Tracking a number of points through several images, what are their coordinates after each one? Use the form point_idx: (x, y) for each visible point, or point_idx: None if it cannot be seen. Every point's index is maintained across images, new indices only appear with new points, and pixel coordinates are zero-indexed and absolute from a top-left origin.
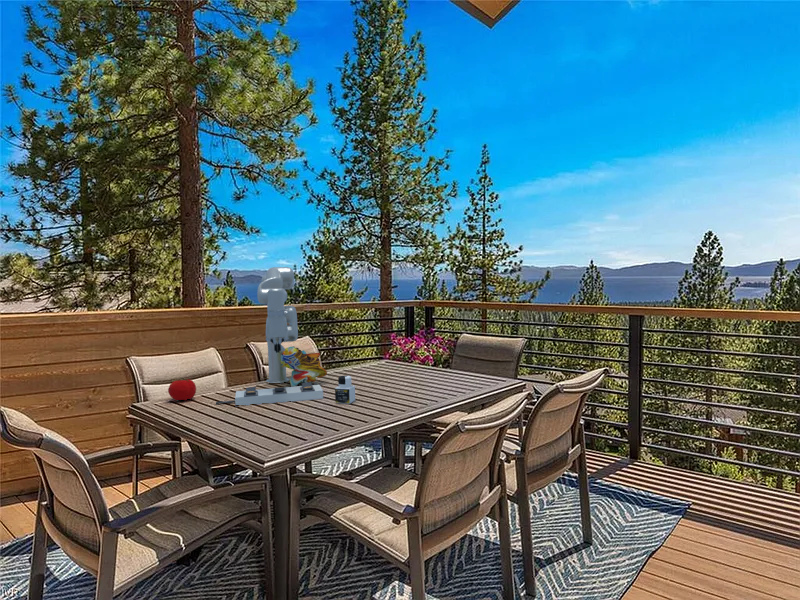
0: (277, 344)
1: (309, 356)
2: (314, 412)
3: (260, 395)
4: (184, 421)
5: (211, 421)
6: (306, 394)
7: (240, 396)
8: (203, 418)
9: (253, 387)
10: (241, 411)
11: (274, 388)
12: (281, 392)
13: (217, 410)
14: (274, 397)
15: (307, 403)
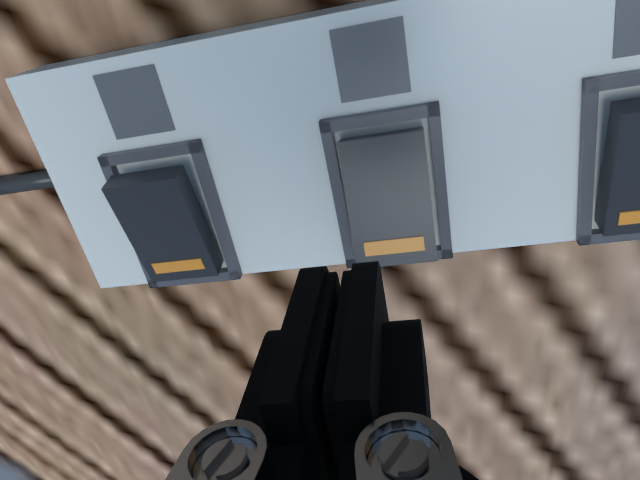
0: (326, 411)
1: None
2: (595, 463)
3: (257, 268)
4: (16, 440)
5: (130, 465)
6: None
7: (122, 263)
8: (72, 422)
9: (162, 191)
10: (204, 361)
11: (339, 154)
12: None
13: (64, 315)
14: None
15: (586, 291)
